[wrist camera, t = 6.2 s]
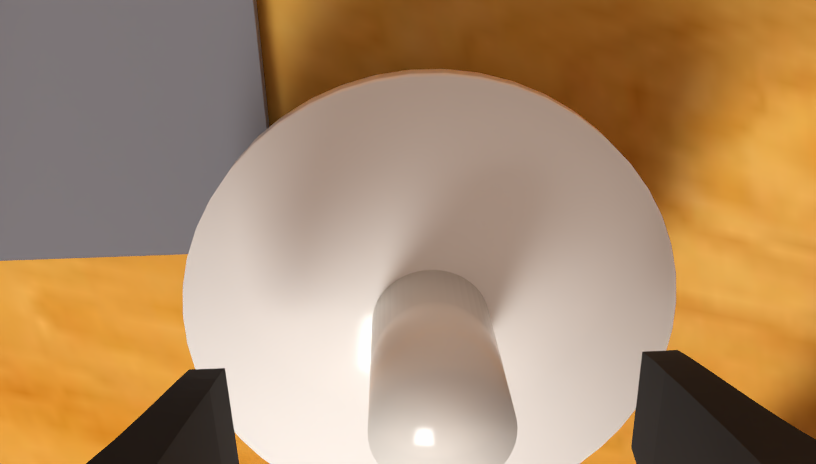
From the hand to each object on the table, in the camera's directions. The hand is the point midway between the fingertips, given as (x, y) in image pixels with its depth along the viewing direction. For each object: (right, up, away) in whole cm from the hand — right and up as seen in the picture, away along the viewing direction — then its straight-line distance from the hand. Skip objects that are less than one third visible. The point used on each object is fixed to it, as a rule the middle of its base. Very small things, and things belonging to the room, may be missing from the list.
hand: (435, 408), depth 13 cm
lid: (0, +1, +3) cm, 3 cm away
